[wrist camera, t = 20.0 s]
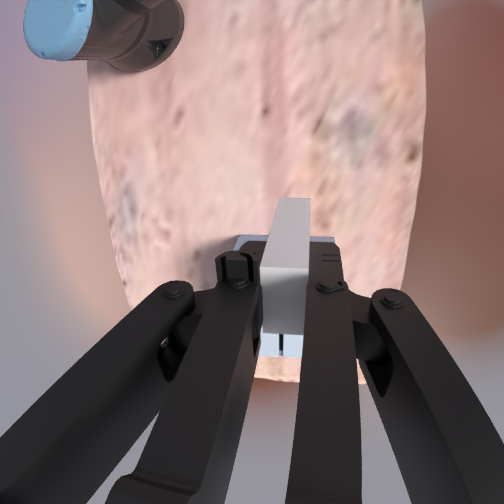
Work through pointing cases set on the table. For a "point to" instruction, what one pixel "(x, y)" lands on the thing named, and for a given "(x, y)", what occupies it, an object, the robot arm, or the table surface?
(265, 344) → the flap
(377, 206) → the table surface
